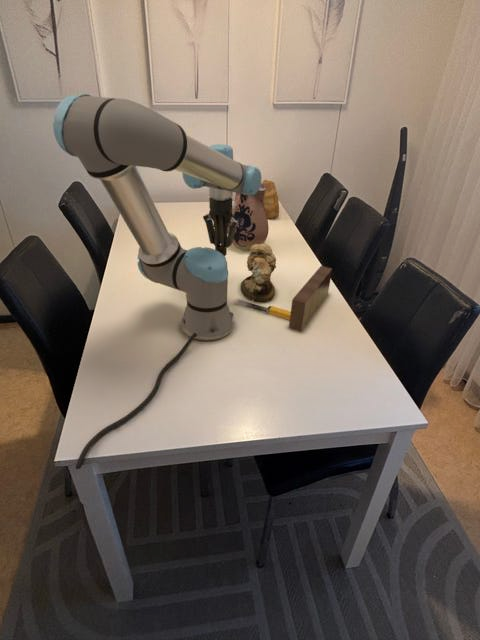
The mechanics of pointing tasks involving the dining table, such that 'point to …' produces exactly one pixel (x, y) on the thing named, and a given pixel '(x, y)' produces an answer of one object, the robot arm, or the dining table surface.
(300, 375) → the dining table surface
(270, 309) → the yellow handled chisel
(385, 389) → the dining table surface
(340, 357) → the dining table surface
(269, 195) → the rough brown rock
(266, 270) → the beige stone figure
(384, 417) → the dining table surface
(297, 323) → the walnut rail
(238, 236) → the ceramic pitcher
